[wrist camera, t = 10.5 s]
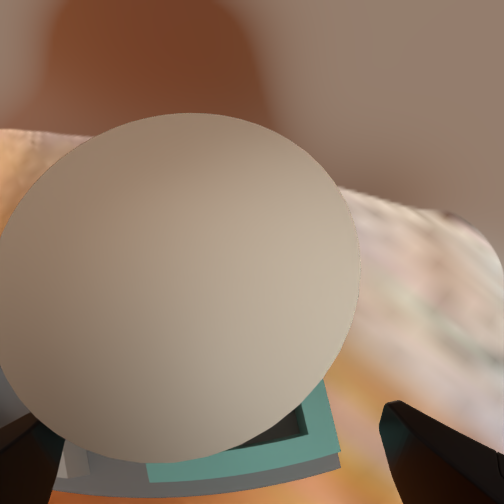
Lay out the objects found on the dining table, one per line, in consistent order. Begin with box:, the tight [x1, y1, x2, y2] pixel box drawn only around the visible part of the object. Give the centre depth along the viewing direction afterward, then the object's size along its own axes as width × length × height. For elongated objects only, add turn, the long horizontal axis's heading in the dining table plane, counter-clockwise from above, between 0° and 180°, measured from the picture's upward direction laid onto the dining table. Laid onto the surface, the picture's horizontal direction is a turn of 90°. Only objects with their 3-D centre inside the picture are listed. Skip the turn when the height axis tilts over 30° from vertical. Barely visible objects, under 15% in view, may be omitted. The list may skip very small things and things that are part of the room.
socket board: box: [0, 366, 341, 498], centre depth 14 cm, size 22×11×4 cm, turn 101°
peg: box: [0, 113, 361, 463], centre depth 9 cm, size 4×4×14 cm
